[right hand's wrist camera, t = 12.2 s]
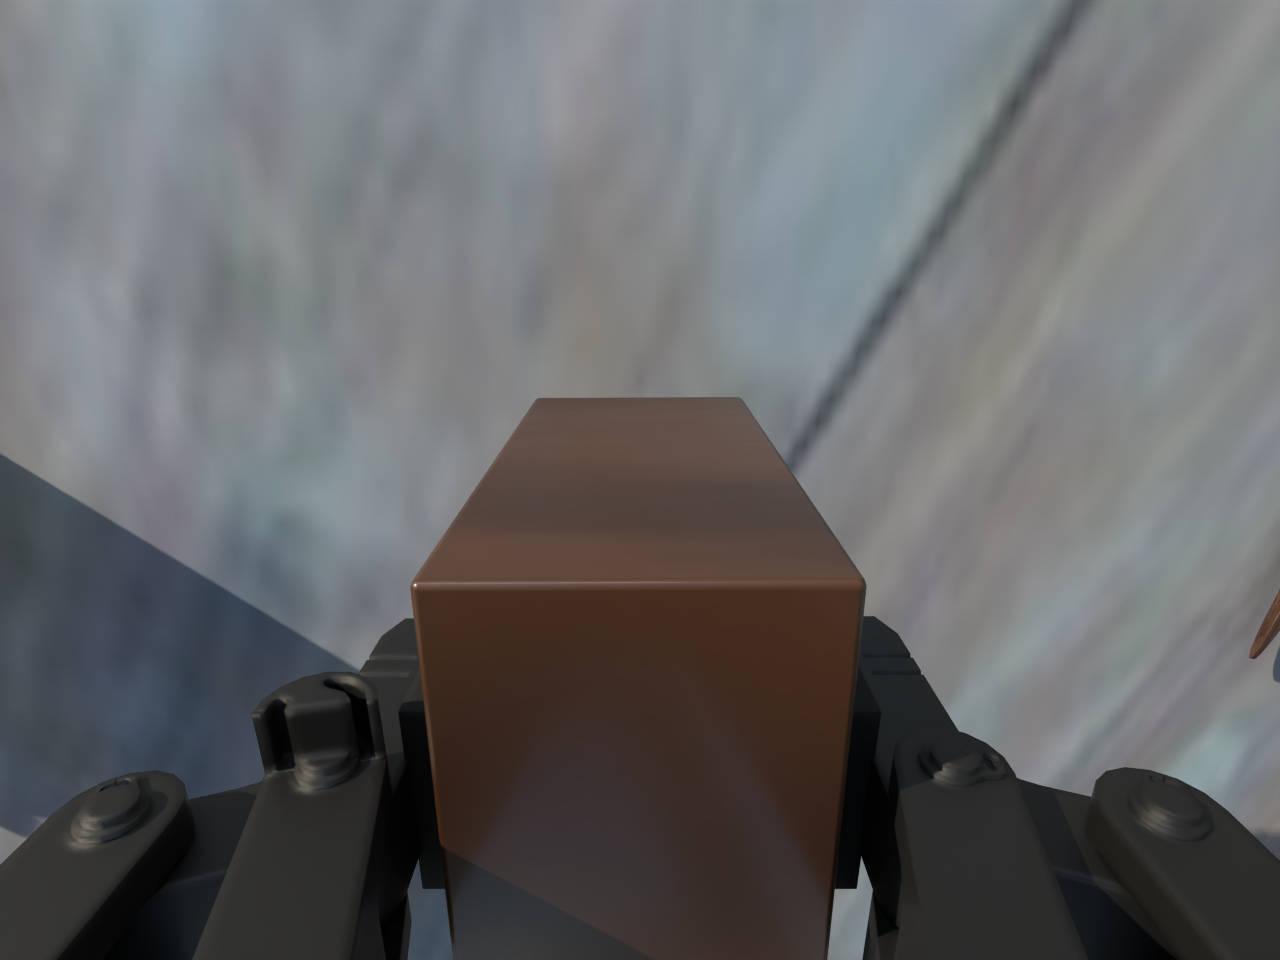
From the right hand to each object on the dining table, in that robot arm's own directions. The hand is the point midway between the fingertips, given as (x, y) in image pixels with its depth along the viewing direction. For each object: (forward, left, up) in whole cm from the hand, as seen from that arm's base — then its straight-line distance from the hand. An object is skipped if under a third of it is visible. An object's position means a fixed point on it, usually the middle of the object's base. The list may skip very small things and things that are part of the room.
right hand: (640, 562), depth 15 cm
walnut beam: (0, +20, 0) cm, 20 cm away
